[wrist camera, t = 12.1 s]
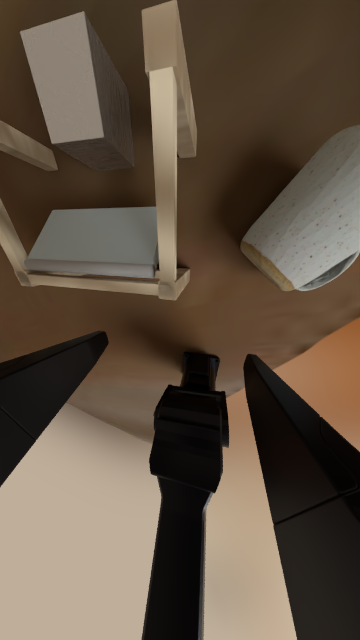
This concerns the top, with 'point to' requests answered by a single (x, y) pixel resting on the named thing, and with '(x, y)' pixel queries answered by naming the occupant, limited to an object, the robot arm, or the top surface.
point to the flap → (98, 242)
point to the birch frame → (168, 138)
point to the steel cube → (80, 93)
